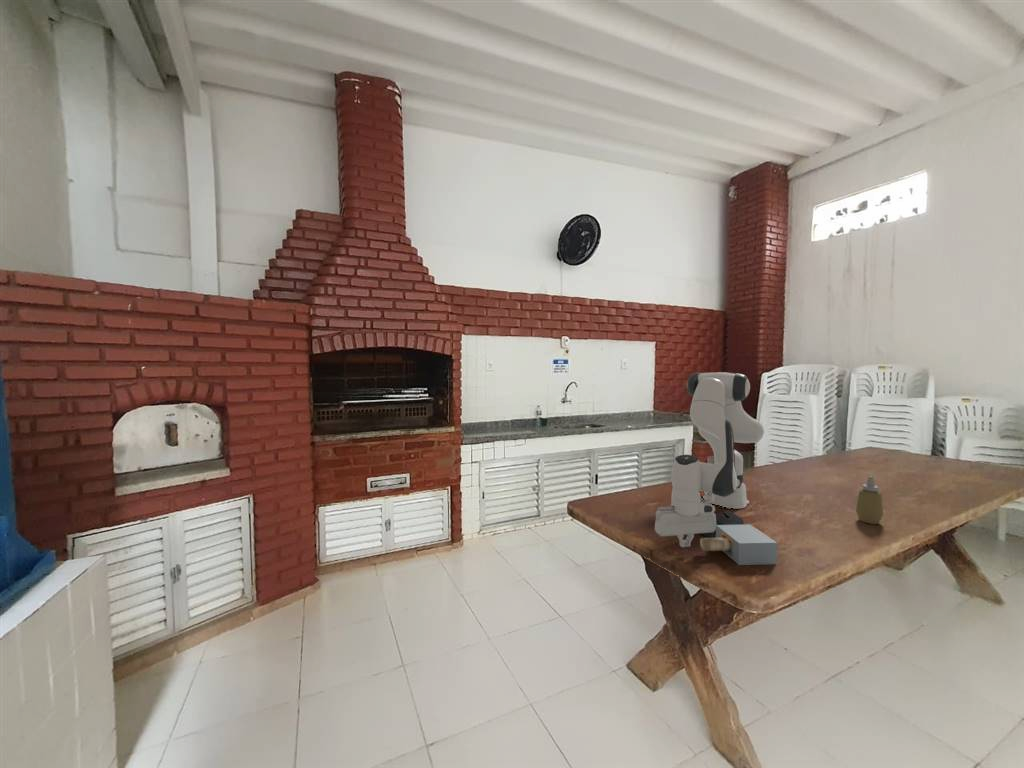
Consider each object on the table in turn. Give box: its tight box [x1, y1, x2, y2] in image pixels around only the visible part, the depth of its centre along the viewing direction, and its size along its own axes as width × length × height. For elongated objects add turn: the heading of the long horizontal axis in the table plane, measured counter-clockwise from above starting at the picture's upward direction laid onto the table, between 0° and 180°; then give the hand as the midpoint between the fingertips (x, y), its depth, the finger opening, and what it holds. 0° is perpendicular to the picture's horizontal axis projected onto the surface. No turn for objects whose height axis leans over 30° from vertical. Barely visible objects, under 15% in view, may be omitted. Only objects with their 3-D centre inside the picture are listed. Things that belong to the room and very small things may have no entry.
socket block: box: [716, 524, 778, 566], centre depth 134 cm, size 14×12×7 cm
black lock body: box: [700, 510, 745, 538], centre depth 155 cm, size 15×22×5 cm
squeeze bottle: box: [855, 475, 884, 525], centre depth 159 cm, size 8×8×18 cm
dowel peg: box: [699, 537, 731, 552], centre depth 134 cm, size 4×12×4 cm, turn 91°
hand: (684, 546), depth 134 cm, fingers closed
